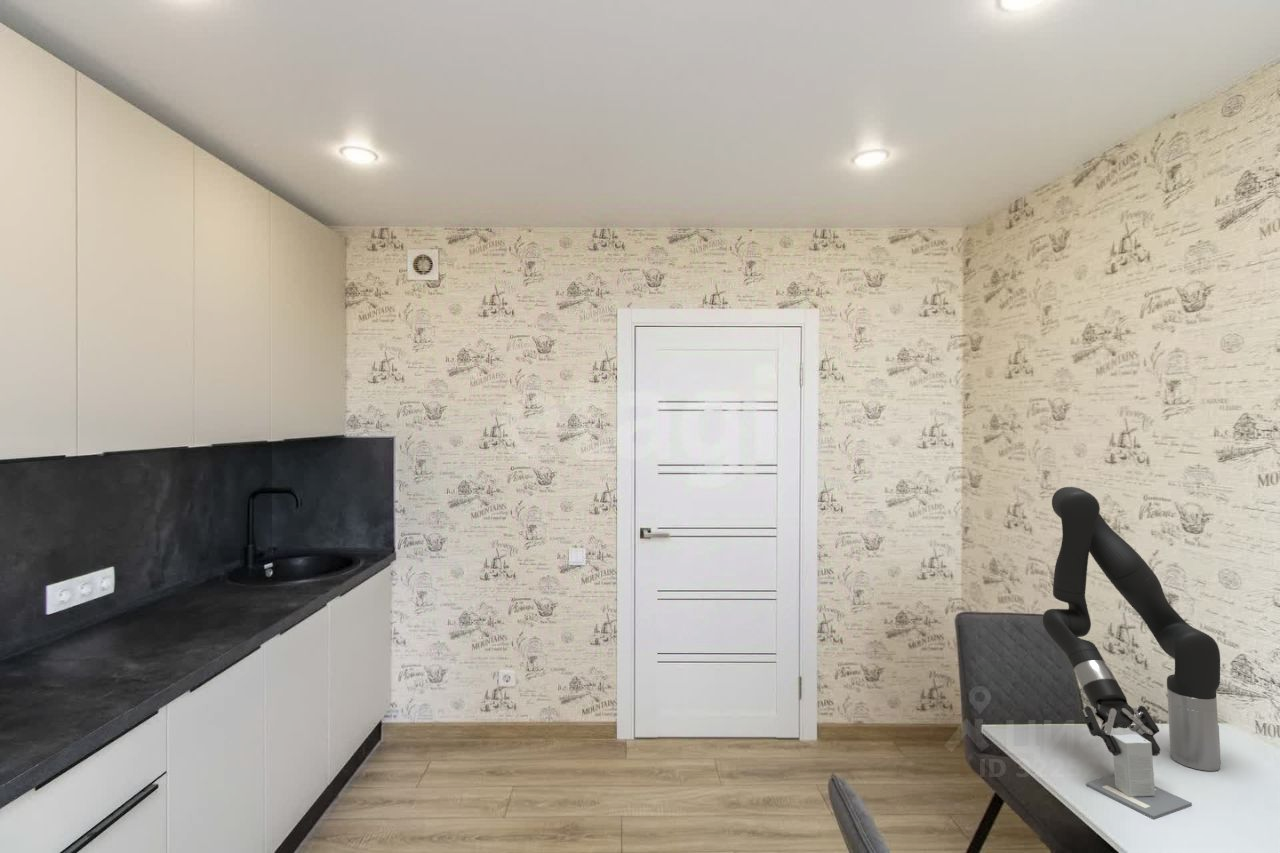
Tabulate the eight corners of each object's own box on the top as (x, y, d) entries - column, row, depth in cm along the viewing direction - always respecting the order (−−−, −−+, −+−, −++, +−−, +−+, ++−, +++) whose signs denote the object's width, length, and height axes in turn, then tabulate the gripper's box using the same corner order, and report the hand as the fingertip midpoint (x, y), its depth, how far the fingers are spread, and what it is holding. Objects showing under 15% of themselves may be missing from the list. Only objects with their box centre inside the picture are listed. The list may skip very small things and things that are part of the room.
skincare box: (1139, 786, 142) (1137, 733, 142) (1155, 796, 138) (1152, 742, 138) (1113, 786, 142) (1111, 734, 142) (1128, 797, 137) (1125, 743, 138)
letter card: (1123, 774, 148) (1122, 771, 148) (1191, 805, 135) (1191, 802, 135) (1086, 785, 144) (1085, 782, 144) (1153, 819, 130) (1153, 816, 131)
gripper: (1075, 677, 149) (1112, 748, 137) (1136, 676, 148) (1178, 748, 136) (1063, 690, 154) (1097, 760, 142) (1121, 690, 153) (1160, 760, 141)
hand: (1137, 754), depth 139 cm, fingers open, 8 cm apart
